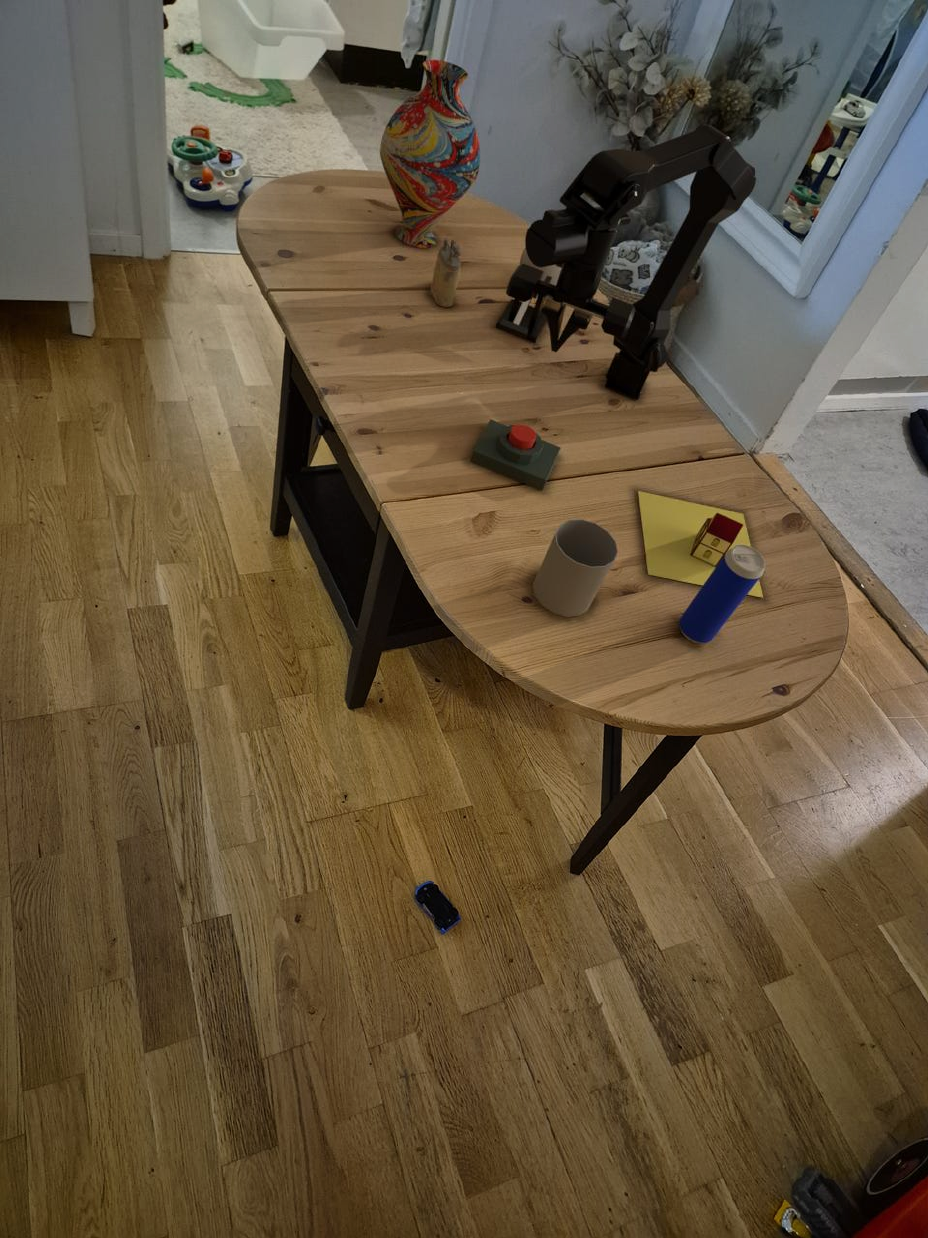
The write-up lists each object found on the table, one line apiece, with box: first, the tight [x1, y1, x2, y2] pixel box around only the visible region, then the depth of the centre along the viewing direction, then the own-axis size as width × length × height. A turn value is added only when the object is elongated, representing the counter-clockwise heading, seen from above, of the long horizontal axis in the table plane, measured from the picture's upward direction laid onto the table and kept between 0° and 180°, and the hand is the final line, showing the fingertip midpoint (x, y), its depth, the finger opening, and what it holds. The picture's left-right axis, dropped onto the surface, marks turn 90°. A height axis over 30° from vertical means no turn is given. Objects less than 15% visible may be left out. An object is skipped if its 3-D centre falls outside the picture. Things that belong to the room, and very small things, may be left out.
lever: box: [498, 278, 543, 340], centre depth 143 cm, size 12×5×2 cm, turn 161°
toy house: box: [690, 512, 744, 567], centre depth 118 cm, size 6×7×8 cm
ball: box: [519, 246, 561, 286], centre depth 156 cm, size 10×10×10 cm
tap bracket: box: [494, 276, 552, 344], centre depth 147 cm, size 10×8×9 cm
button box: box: [469, 419, 562, 492], centre depth 123 cm, size 12×9×4 cm
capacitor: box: [429, 237, 462, 308], centre depth 146 cm, size 7×4×10 cm, turn 16°
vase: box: [379, 59, 481, 249], centre depth 150 cm, size 19×19×30 cm
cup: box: [532, 518, 619, 618], centre depth 105 cm, size 8×8×10 cm
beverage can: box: [678, 545, 766, 644], centre depth 104 cm, size 5×5×15 cm
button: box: [508, 424, 537, 450], centre depth 121 cm, size 4×4×2 cm
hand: (554, 350), depth 124 cm, fingers closed
